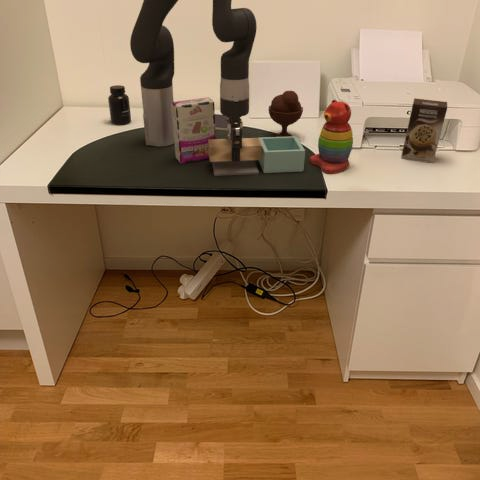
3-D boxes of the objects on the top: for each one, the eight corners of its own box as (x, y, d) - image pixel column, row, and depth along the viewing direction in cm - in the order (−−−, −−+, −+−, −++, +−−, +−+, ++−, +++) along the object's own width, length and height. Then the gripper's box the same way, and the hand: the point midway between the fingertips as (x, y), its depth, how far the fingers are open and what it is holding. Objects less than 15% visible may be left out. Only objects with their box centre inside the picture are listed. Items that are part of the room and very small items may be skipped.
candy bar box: (210, 151, 140) (208, 96, 131) (216, 157, 136) (215, 101, 127) (174, 157, 136) (170, 101, 127) (180, 164, 132) (176, 106, 123)
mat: (214, 175, 125) (214, 173, 125) (211, 159, 135) (211, 157, 134) (258, 174, 127) (258, 172, 126) (252, 158, 136) (252, 156, 136)
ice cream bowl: (300, 132, 155) (304, 85, 147) (300, 144, 146) (304, 95, 137) (268, 130, 156) (270, 84, 148) (266, 142, 146) (268, 94, 138)
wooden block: (209, 161, 126) (209, 147, 124) (208, 153, 131) (208, 139, 129) (261, 159, 127) (261, 145, 125) (257, 151, 132) (258, 137, 130)
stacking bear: (306, 160, 135) (311, 98, 125) (335, 155, 138) (343, 94, 129) (327, 175, 127) (334, 110, 117) (357, 169, 130) (367, 105, 120)
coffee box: (400, 158, 137) (412, 103, 128) (402, 151, 142) (413, 97, 133) (433, 163, 134) (447, 107, 125) (434, 155, 139) (447, 100, 130)
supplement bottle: (129, 125, 159) (124, 89, 152) (109, 125, 159) (103, 89, 152) (133, 119, 164) (129, 84, 158) (114, 119, 165) (109, 84, 158)
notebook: (237, 120, 166) (181, 115, 171) (237, 116, 165) (180, 110, 170) (227, 132, 156) (167, 126, 160) (227, 127, 155) (167, 121, 159)
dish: (263, 173, 127) (264, 152, 124) (257, 157, 137) (258, 137, 133) (303, 171, 129) (305, 150, 125) (294, 155, 138) (296, 136, 134)
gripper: (217, 87, 126) (218, 147, 135) (222, 103, 114) (223, 167, 123) (245, 87, 126) (244, 146, 136) (253, 102, 114) (251, 166, 123)
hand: (234, 156), depth 129 cm, fingers closed on wooden block, 6 cm apart
